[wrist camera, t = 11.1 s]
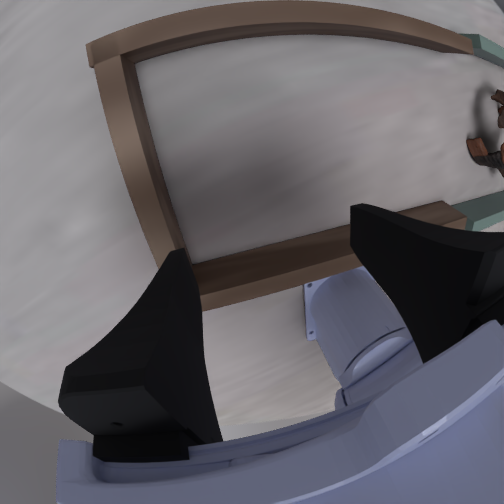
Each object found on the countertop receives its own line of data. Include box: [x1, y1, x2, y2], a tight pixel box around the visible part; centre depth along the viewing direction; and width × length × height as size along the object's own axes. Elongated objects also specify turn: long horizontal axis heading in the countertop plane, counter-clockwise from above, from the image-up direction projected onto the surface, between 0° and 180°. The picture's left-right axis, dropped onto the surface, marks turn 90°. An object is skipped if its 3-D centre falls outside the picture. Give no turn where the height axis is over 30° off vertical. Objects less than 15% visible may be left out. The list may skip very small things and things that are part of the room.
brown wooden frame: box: [86, 0, 474, 312], centre depth 17 cm, size 19×28×4 cm
